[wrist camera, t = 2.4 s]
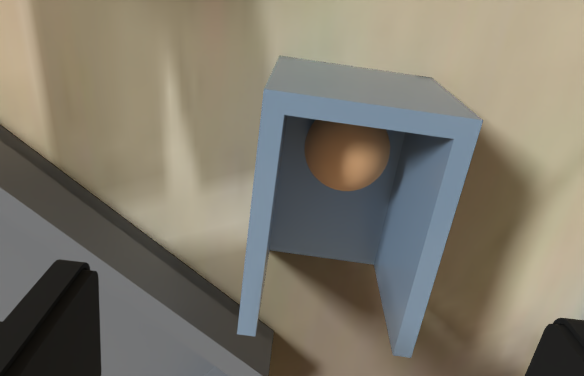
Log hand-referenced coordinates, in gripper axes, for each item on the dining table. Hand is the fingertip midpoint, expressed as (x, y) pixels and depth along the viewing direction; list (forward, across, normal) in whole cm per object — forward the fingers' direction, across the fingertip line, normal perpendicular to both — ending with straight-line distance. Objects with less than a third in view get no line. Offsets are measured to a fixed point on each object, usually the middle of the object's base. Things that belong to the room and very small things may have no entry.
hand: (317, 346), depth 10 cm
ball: (+8, -1, -2) cm, 8 cm away
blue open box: (+10, -1, 0) cm, 10 cm away
